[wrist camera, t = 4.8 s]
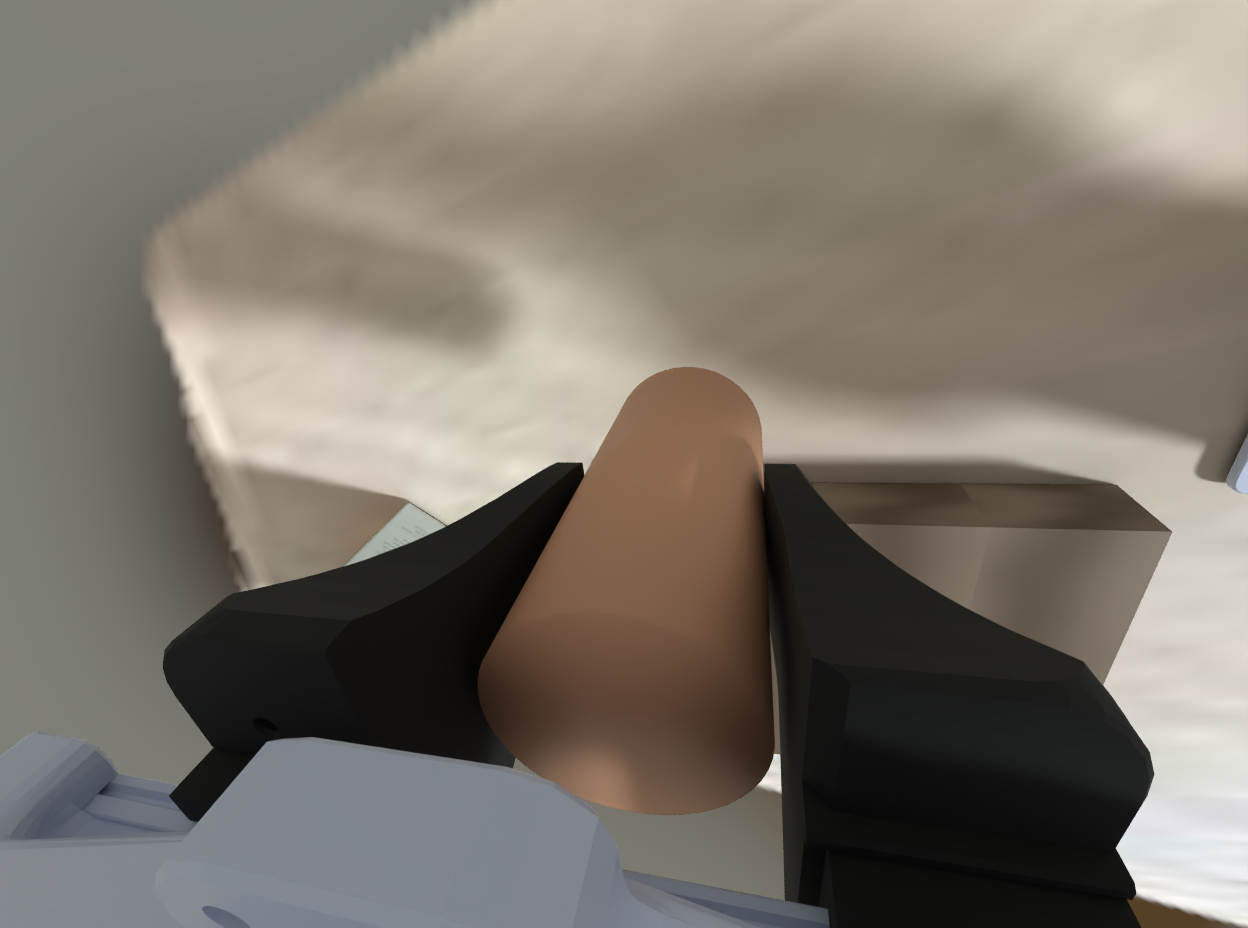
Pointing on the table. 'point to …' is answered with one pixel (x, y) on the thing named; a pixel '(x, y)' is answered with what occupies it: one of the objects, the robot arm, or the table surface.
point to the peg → (649, 613)
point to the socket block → (1015, 555)
